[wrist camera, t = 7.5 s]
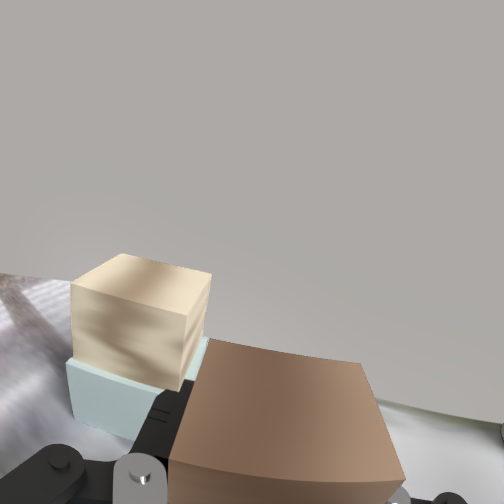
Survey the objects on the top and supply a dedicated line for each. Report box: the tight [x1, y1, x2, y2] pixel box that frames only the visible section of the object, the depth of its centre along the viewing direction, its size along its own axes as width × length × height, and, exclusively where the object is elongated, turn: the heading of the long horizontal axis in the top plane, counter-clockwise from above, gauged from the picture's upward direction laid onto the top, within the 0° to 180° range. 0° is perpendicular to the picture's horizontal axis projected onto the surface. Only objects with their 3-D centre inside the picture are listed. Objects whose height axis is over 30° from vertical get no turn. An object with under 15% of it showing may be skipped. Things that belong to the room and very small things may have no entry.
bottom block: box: [66, 336, 208, 441], centre depth 24 cm, size 9×9×6 cm
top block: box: [70, 253, 212, 392], centre depth 23 cm, size 8×8×6 cm
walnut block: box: [167, 338, 406, 504], centre depth 8 cm, size 4×4×9 cm
